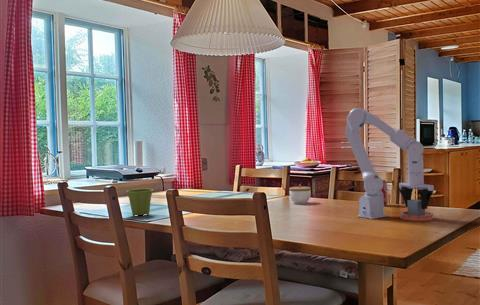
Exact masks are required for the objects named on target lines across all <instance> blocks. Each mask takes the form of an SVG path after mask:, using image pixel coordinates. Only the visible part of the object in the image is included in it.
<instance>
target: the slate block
mask: <svg viewBox="0 0 480 305" xmlns="http://www.w3.org/2000/svg"><path fill="white" fill-rule="evenodd" d="M407 202H408V207H407V211H408V215H425V212H426V209H422V206H421V199H415V198H414V199H411V200H407Z"/></svg>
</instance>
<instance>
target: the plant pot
mask: <svg viewBox="0 0 480 305" xmlns="http://www.w3.org/2000/svg"><path fill="white" fill-rule="evenodd" d="M153 191H154V189H153V188H137V189H135V188H134V189H129V190H126V191H125V192H126V193H127V197H128V199H129V200H128V201H129V204H130V208H131V213H132V214H131V215H132V216H133V215H144V214H149V215H150V210H151V209H150V208H151V200H152V195H153V194H152V193H153Z"/></svg>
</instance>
